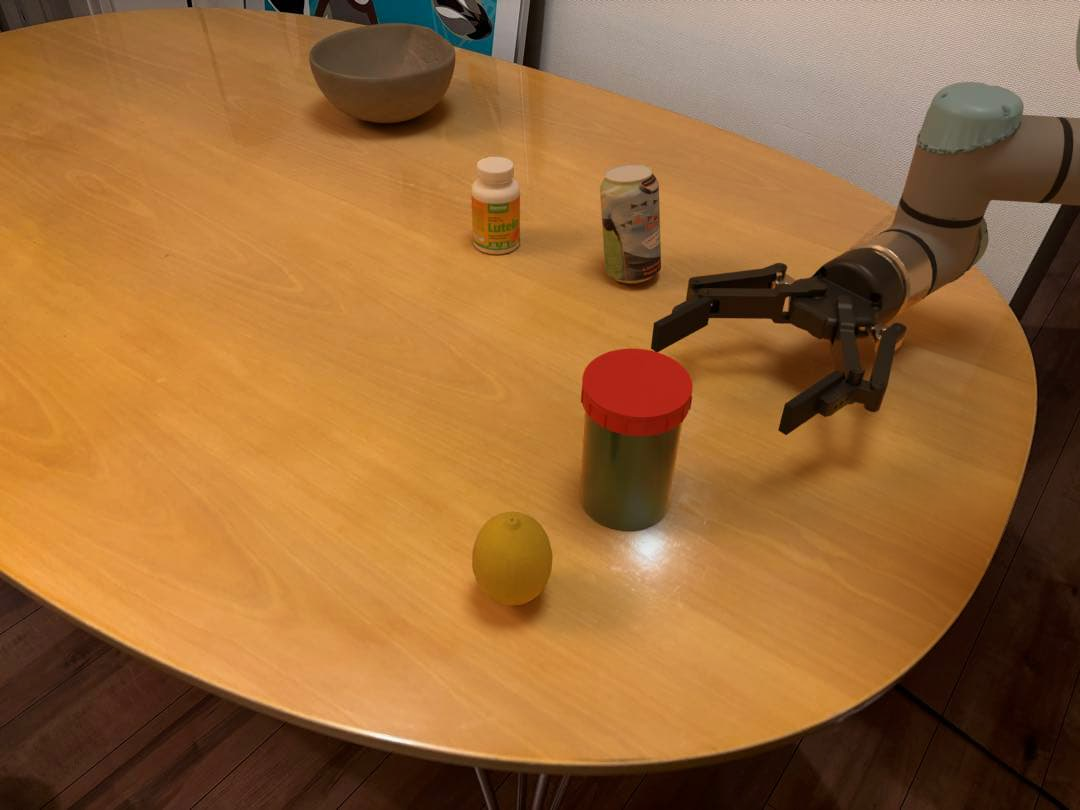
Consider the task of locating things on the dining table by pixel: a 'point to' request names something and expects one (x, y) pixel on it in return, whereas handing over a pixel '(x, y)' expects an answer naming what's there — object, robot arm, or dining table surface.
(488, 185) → the supplement bottle
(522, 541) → the lemon
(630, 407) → the cap
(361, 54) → the bowl
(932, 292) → the robot arm
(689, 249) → the dining table surface
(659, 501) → the jar
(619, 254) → the beverage can
